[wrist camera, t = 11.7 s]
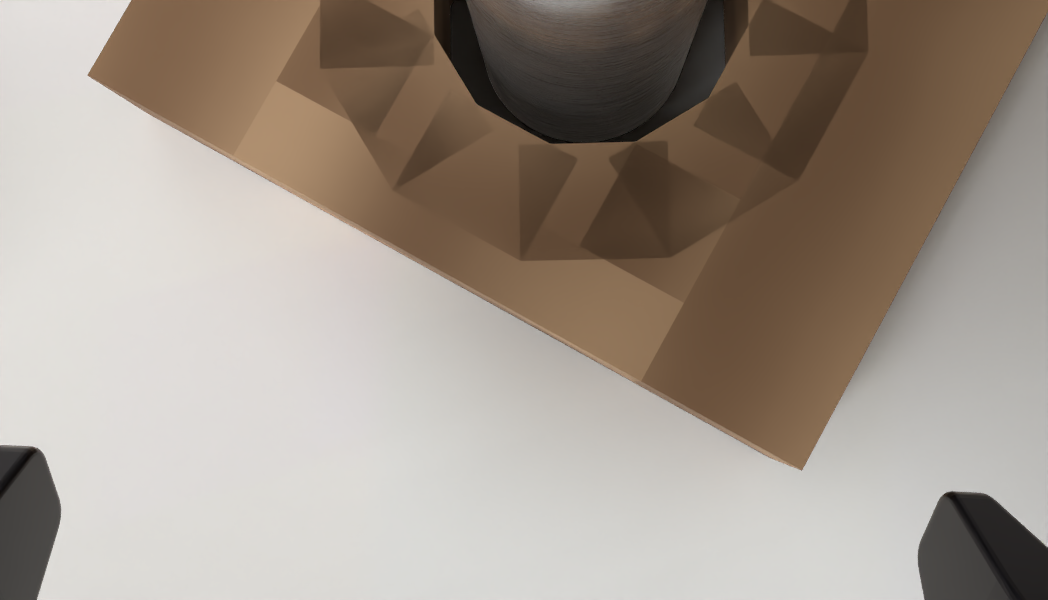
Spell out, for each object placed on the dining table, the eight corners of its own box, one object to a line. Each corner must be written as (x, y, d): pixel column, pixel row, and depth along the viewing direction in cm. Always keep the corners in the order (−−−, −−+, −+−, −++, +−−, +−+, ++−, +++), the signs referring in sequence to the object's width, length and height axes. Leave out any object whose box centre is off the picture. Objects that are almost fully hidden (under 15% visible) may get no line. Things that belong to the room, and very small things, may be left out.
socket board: (1038, -39, 19) (1107, -101, 17) (770, 458, 19) (801, 470, 16) (416, -349, 20) (396, -451, 18) (147, 113, 20) (87, 75, 17)
